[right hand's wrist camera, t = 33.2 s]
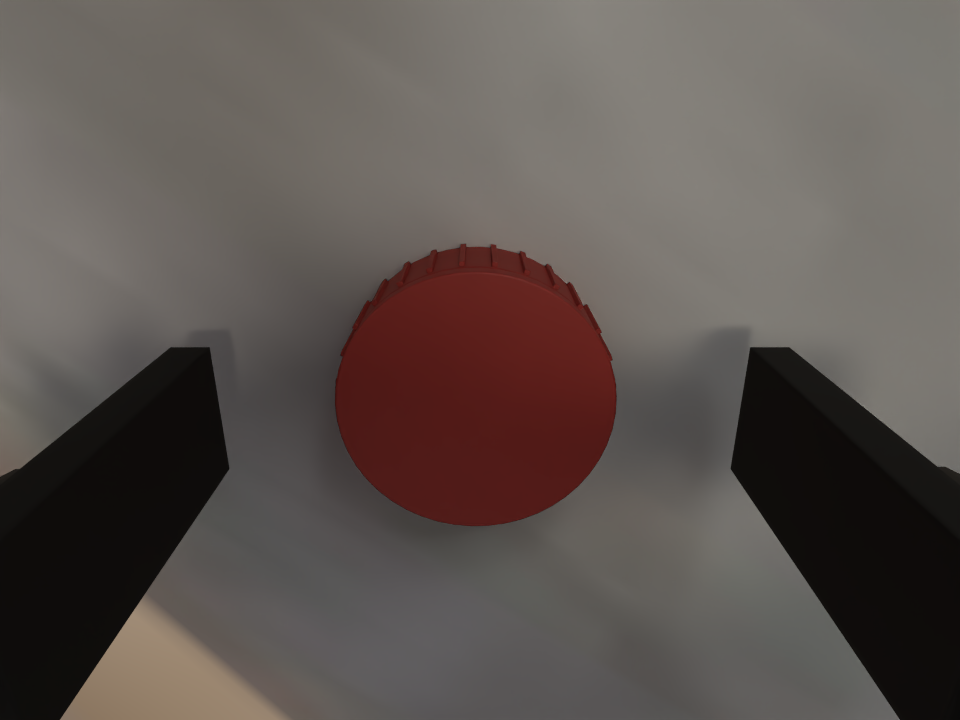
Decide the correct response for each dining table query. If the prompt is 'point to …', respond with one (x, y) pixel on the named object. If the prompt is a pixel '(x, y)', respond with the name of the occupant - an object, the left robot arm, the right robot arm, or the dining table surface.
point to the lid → (475, 388)
